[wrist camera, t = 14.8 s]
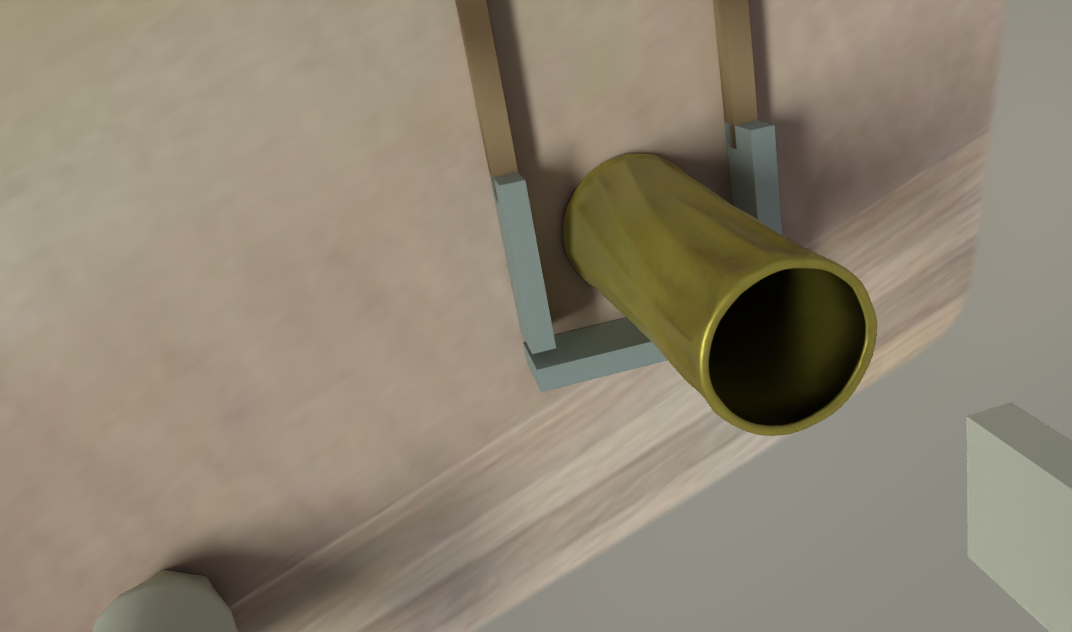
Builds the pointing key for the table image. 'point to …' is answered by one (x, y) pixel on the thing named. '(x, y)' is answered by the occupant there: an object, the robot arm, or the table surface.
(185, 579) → the salt shaker
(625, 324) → the socket
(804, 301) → the vase
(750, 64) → the channel
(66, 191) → the table surface
